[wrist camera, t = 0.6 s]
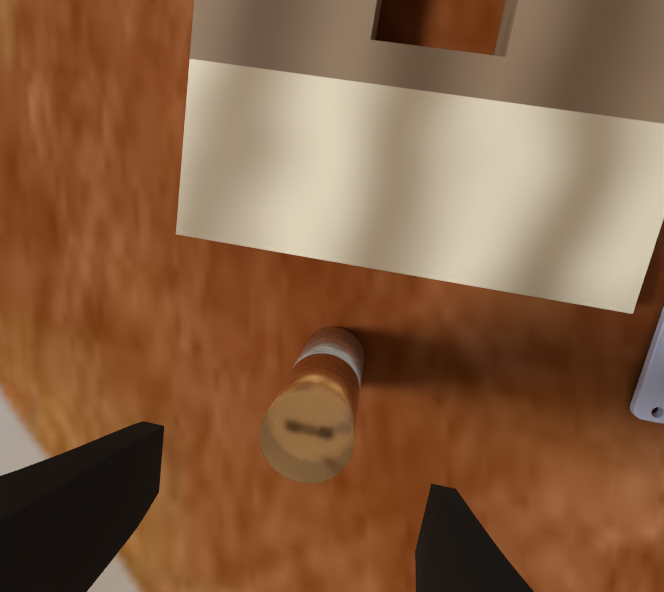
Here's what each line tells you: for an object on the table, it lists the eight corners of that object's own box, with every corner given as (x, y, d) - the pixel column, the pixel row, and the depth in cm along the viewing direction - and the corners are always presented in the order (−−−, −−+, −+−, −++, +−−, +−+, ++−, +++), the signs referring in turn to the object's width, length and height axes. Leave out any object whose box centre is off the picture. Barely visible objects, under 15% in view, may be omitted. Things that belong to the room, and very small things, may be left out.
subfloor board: (746, -178, 15) (816, -254, 13) (600, 300, 19) (632, 313, 16) (241, -218, 17) (217, -291, 14) (200, 231, 20) (176, 234, 18)
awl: (369, 332, 20) (360, 406, 13) (358, 388, 21) (344, 492, 13) (309, 321, 21) (265, 387, 13) (300, 377, 21) (253, 472, 14)
